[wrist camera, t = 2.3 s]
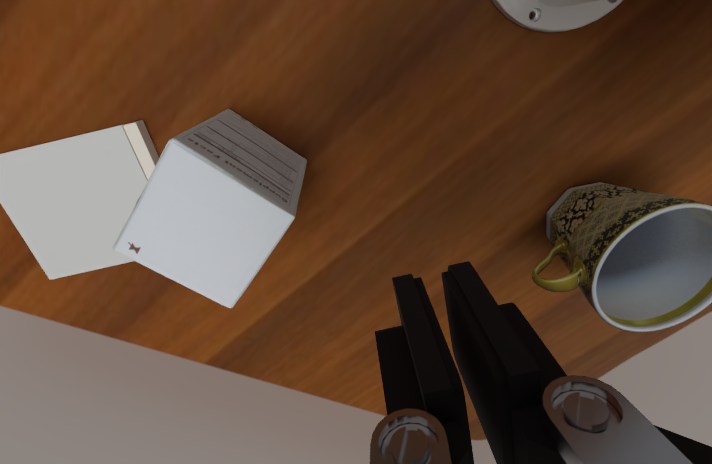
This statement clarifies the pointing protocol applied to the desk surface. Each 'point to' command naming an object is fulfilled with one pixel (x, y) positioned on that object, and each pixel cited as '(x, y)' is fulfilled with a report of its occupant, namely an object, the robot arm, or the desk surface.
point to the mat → (73, 198)
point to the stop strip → (142, 146)
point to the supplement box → (215, 207)
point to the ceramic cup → (632, 254)
